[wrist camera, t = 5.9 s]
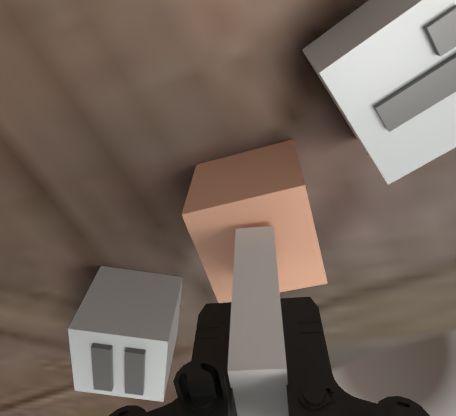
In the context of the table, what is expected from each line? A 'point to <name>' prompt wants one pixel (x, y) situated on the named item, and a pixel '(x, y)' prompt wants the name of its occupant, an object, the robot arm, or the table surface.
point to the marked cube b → (394, 79)
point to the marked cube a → (126, 333)
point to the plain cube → (254, 215)
